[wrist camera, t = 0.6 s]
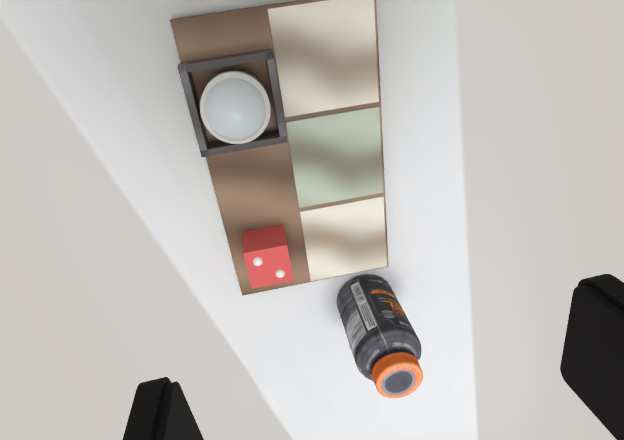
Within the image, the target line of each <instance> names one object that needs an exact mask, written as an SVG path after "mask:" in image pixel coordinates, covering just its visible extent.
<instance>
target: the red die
mask: <svg viewBox="0 0 624 440" xmlns="http://www.w3.org/2000/svg"><path fill="white" fill-rule="evenodd" d="M243 255H244V259H245V263H246V267H247V271H248V275H249V279H250V283H251V287H252V289H253V288H258V287H263V286H268V285H273V284H278V283H283V282H288V281H293V274H292V269H291V263H290V258H289V253H288V247H287V242H286V237H285V232H284V227H283V224H282V225H277V226H272V227H266V228H261V229H256V230H250V231H245V232H243Z"/></svg>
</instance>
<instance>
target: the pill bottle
mask: <svg viewBox="0 0 624 440" xmlns="http://www.w3.org/2000/svg"><path fill="white" fill-rule="evenodd" d="M337 306H338V310H339V313H340V316H341V319H342V322H343V325H344V328H345V332H346V335H347V338H348V341H349V345H350V348H351V350H352V353H353V356H354V359H355V362H356V365H357V367H358V369H359V371H360V372H361V373H362V374H363V375H364V376H365V377H366V378H368V379H370V380H372V381H374V383H375V385H376V388H377V390H378V392H379V393H380V394H381V395H383V396H385V397H388V398H400V397H404V396H406V395H408V394H410V393H412V392H413V391H415V390H416V389H417V388H418V387H419V385H420V384H421V382H422V379H423V373H422V370H421V368H420V366H419V363H418V362H419V359H420V356H421V344H420V341H419V339H418V337H417V335H416V334H415V332H414V330H413V328H412V326H411V324H410V322H409V321H408V319H407V317H406V315H405V313H404V311H403V309H402V307H401V305H400V304H399V302H398V300H397V298H396V296H395V294H394V292H393V291H392V289H391V287H390V285H389V284H388V283H387V281H385V280H384V279H382V278H380V277H377V276H371V275H365V276H360V277H357V278H354V279H353V280H351V281H349V282H348V283H347V284H346V285H345V286H344V287H343V288H342V289H341V291H340V293H339V295H338V298H337Z"/></svg>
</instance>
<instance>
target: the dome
mask: <svg viewBox="0 0 624 440" xmlns="http://www.w3.org/2000/svg"><path fill="white" fill-rule="evenodd" d="M270 112H271V108H270V102H269V98H268V95H267V92H266V90H265V88H264V86H263V85H262V83H261V82H260V81H259V80H258V79H257V78H256V77H255V76H253V75H252V74H250V73H248V72H246V71H243V70H238V69H229V70H225V71H222V72H220V73H218V74H216V75H215V76H213V77H212V78H211V79H210V81H209V82H208V83H207V85H206V87H205V89H204V91H203V94H202V97H201V101H200V114H201V118H202V121H203V123H204V125H205V126H206V128H207V129H208V130H209V132H210V133H211V134H212V135H213V136H215V137H216V138H218V139H219V140H221V141H224V142H227V143H231V144H243V143H247V142H250V141H252V140H254V139H256V138H257V137H258V136H260V135H261V134H262V133H263V131H264V130H265V128H266V127H267V125H268V122H269V119H270Z"/></svg>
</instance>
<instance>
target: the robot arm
mask: <svg viewBox="0 0 624 440" xmlns="http://www.w3.org/2000/svg"><path fill="white" fill-rule="evenodd" d="M560 370H561V373H562V376H563V378H564V380H565V382H566V383H567V384H568V385H569V387H570V388H571V389H572V390H573V391H574V392H575V393H576V394H577V395H578V397H579V398H580V399H581V400H582V401H583V402H584V403H585V404H586V406H587V407H588V408H589V409H590V410H591V411H592V412H593V413H594V415H595V416H596V417H597V418H598V419H599V420H600V421H601V422H602V424H603V425H604V426H605V427H606V428H607V429H608V430H609V431H610V433H611V434H612V435H613V436H614V437H615V438H616V439H617V440H624V283H623V282H622V281H620V280H619V279H617V278H616V277H614V276H612V275H610V274H603V275H600V276H595V277H591V278H586V279H583V280H581V281H580V282H579V284H578V287H576V288H575V289H574V291H573V296H572V303H571V308H570V314H569V320H568V325H567V332H566V337H565V343H564V349H563V355H562V361H561V367H560ZM123 440H203V437H202V435H201V433H200V430H199V428H198V426H197V423H196V421H195V419H194V417H193V414H192V412H191V410H190V407H189V405H188V403H187V401H186V398H185V396H184V394H183V391H182V389H181V387H180V385H179V383H178V382H173V383H171V382H170V380H169V378H167V377H164V378H160V379H156V380H151V381H147V382H143V383H140V384H139V385H138V387H137V390H136V393H135V397H134V401H133V404H132V408H131V412H130V415H129V419H128V423H127V426H126V430H125V433H124V437H123Z"/></svg>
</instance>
